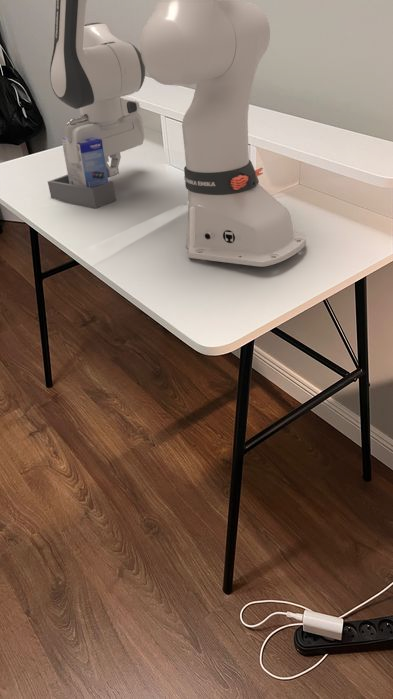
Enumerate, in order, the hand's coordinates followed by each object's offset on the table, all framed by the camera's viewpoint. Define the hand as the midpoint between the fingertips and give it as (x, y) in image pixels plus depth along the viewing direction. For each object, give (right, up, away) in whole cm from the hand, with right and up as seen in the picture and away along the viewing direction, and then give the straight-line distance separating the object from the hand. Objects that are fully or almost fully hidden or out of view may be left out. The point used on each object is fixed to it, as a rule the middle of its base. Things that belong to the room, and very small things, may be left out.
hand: (111, 175), depth 138 cm
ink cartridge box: (-4, -5, -2) cm, 7 cm away
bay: (-6, -7, -5) cm, 10 cm away
